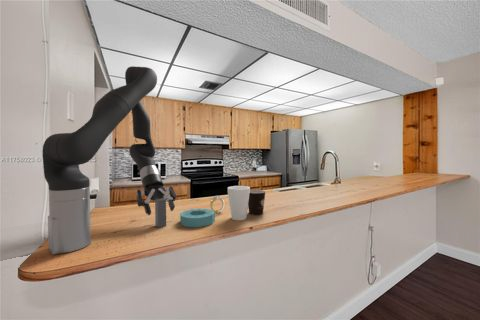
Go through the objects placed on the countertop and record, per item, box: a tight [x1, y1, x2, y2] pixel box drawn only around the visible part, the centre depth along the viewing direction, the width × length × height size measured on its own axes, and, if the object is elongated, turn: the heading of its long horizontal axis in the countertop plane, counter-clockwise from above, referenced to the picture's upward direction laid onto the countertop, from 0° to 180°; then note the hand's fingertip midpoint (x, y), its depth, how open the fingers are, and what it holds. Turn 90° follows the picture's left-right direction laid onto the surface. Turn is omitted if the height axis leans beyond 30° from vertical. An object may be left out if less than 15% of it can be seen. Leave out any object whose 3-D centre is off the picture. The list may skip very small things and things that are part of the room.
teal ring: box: [179, 208, 216, 228], centre depth 83 cm, size 13×13×4 cm
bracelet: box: [209, 195, 226, 214], centre depth 96 cm, size 7×3×8 cm, turn 115°
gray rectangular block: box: [154, 199, 167, 229], centre depth 78 cm, size 3×3×10 cm
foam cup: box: [227, 185, 251, 221], centre depth 87 cm, size 10×9×13 cm
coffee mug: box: [248, 189, 266, 216], centre depth 95 cm, size 12×9×10 cm
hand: (161, 211), depth 77 cm, fingers open, 8 cm apart
